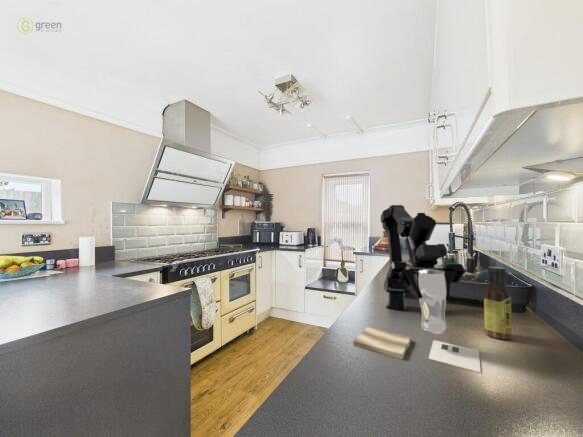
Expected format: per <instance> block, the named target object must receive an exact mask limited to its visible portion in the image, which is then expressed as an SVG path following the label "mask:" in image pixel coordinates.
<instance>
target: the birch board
mask: <svg viewBox="0 0 583 437" xmlns="http://www.w3.org/2000/svg"><path fill="white" fill-rule="evenodd" d="M352 342H353V343H352V345H353V346H354V347H357V348H361V349H365V350H367V351H371V352H375V353H379V354H380V355H381V354H382V355H384V356H385V355H386V356H389V357H391V358H396V359H399V360H403V359H404V358H405V355H406V353H407V351H408V349H409V347H410V345H411V343H412V336H410V335H405V334H401V333H397V332H392V331H388V330H384V329H380V328H375V327H371V326H367V327H365V329H364V330H363V331H362V332H360V334H359V335H358V336H357V337H356V338H355V339H354V340H353V341H352Z"/></svg>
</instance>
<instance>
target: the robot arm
mask: <svg viewBox="0 0 583 437" xmlns="http://www.w3.org/2000/svg"><path fill="white" fill-rule="evenodd" d="M380 223H381V225H382V228H383V230H384V231H385V232H386V234H387V236H386V237H387V247H388V255H389V256H388V258H389V267H388V271H387V272H386V276H385V279H384V283H383V290H384V291H385V292H386V293H388V304H387V305H386V306H385V308H386V309H390V308H391V309H390V310H396V309H397V311H401V310H402V311H401V312H404V311H405V310H406V309H407V308H408V306H407V305H406V304H405V294H410V293H411V294H412V295H413V296H414V297H415V298H416V300H419V299H420V295H419V291H418V288H417V285H416V279H415V276H417V272H416V271H417V270H420V269H436V270H442V271H444V272H445V278H446V285H447V299H446V302H449V301H450V294H451V284H452V283H453V284H455V283H459V282H460V280H461V278H462V277H463V276H464V274H465V273H466V268H464V266H463V264H461V263H453V262H449V263H448V262H446V263H445V264H444V266H443V267H441V268H440V267H439V268H436V266H437V265H438V263H439V262H438V259H439V258H440V259H441V258H444V257H445V256H447V255H448V251H447V250H448V249H447V247H446V244H444V243H437V244H427V241H430V239H431V237H432V234H433V232H434V230H435V228H436V225H437V221H436V220H435V218H433V217H431V216H430V215H426V213H425V212H417V214H416V216H415V217H412V216H411V215H410V214H409V212H408V211H407V210H406V209H405V206H404V205H402V204H392V205H389V207H388V208H387V209H384V210H383V211H382V213H381V215H380ZM401 238H405V239H404V244H405V246H404V248H405V250H406V251H407V254H408V263H409V264H410V265H411V266H410V265H409V264H407V262H406V261H403V256H402V247H401Z"/></svg>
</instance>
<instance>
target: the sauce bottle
mask: <svg viewBox="0 0 583 437" xmlns="http://www.w3.org/2000/svg"><path fill="white" fill-rule="evenodd" d="M506 272H507V271H506V268H505V267H502V266H501V267H500V266H487V273H488V283H487V284H486V285H485V287H484V290H483V293H484V294H483V295H484V297H483V324H484V325H483V327H484V333H485V334H486V335H487V336H489V337H490V336H491V338H494V339H499V340H505V339H506V340H510V339H512V333H513V330H512V329H513V327H512V326H513V324H512V295H511V292H510V291H509V289H508V287H507V284H506V275H505V274H506Z"/></svg>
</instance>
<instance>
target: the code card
mask: <svg viewBox="0 0 583 437" xmlns="http://www.w3.org/2000/svg"><path fill="white" fill-rule="evenodd" d="M427 359H428V360H431V361H435V362H438V363H442V364H445V365H450V366H453V367H456V368H460V369H463V370H469V371H471V372H475V373H478V374H481V373H482V372H481V371H482V370H481V362H480V352H479V349H474V348H470V347H465V346H461V345H457V344H451V343H449V342H444V341H439V340H435V339H433V340H432V344H431V348H430V351H429V355H428V358H427Z"/></svg>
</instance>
